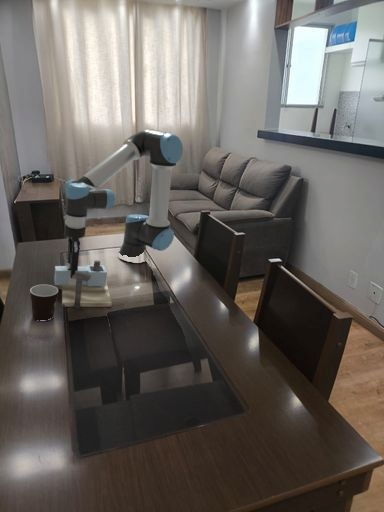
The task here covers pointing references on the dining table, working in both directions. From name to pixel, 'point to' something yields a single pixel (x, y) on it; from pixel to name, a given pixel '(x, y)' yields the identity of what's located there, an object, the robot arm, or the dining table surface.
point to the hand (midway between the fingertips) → (70, 281)
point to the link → (95, 280)
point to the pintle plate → (85, 292)
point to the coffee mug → (43, 301)
